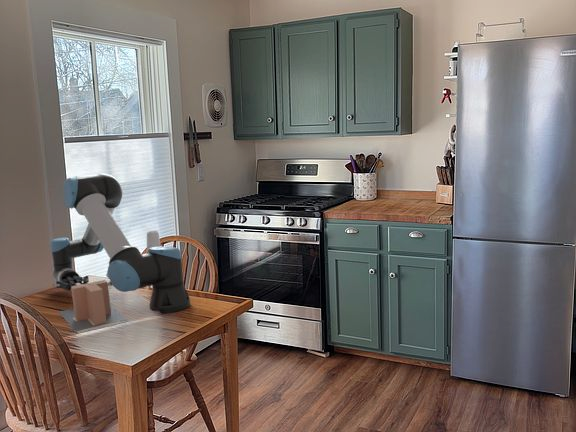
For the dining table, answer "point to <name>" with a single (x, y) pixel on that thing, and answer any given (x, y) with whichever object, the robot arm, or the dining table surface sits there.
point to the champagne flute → (153, 240)
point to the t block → (91, 301)
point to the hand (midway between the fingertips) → (81, 289)
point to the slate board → (87, 323)
